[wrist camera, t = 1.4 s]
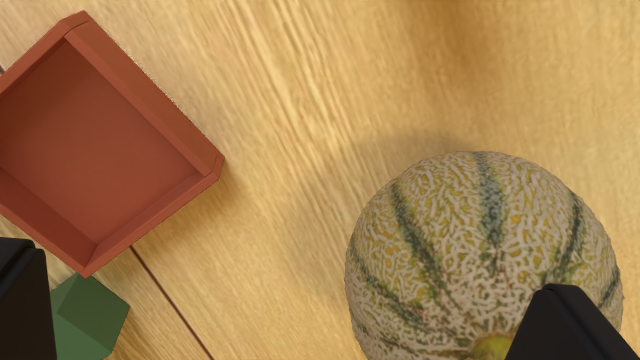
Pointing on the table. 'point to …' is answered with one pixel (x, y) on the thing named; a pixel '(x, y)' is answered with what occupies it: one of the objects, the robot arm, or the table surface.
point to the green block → (86, 319)
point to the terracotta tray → (93, 147)
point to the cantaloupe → (470, 257)
